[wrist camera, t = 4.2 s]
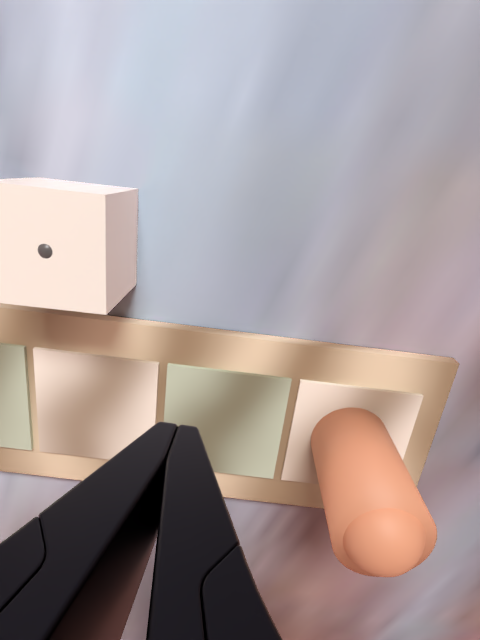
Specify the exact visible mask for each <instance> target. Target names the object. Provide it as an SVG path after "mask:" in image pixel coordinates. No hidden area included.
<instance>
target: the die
mask: <svg viewBox="0 0 480 640" xmlns="http://www.w3.org/2000/svg"><path fill="white" fill-rule="evenodd" d="M137 228H138V189H135V188H126V187H118V186H109V185H100V184H92V183H83V182H74V181H66V180H57V179H48V178H40V177H37V178H14V179H0V303H4V304H13V305H22V306H31V307H40V308H49V309H58V310H67V311H76V312H85V313H94V314H103V315H107V314H108V313H109V312H110V311H111V310H112V309H113V308H114V307H115V306H116V305H117V304H118V303H119V302H120V301H121V300H122V299H123V298H124V296H125V295H126V294H127V293H128V292H129V291H130V290H131V289H132V288H133V287H134V286H135V285H136V282H137Z"/></svg>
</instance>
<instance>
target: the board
mask: <svg viewBox="0 0 480 640" xmlns="http://www.w3.org/2000/svg"><path fill="white" fill-rule="evenodd" d="M458 366H459V363H458V362H457V361H456V360H455V359H454V358H450V357H442V356H433V355H425V354H417V353H409V352H401V351H393V350H385V349H377V348H368V347H360V346H352V345H344V344H336V343H328V342H320V341H312V340H303V339H295V338H287V337H279V336H271V335H263V334H255V333H247V332H238V331H230V330H222V329H214V328H206V327H198V326H190V325H182V324H173V323H165V322H157V321H149V320H141V319H133V318H125V317H117V316H108V315H100V314H92V313H84V312H76V311H67V310H58V309H49V308H40V307H31V306H22V305H13V304H4V303H0V471H5V472H14V473H22V474H31V475H40V476H48V477H57V478H65V479H74V480H82V481H83V480H84V479H85V478H87V477H88V476H89V475H90V474H92V473H93V472H94V471H96V470H97V469H98V468H99V467H101V466H102V465H103V464H105V463H106V462H107V461H109V460H110V459H111V458H112V457H114V456H115V455H116V454H118V453H119V452H120V451H121V450H123V449H124V448H125V447H127V446H128V445H129V444H130V443H132V442H133V441H134V440H136V439H137V438H138V437H140V436H141V435H142V434H143V433H145V432H146V431H147V430H149V429H150V428H151V427H152V426H154V425H155V424H156V423H158V422H168V423H175V424H177V426H179V425H189V426H195V427H197V428H198V429H199V432H200V435H201V437H202V440H203V443H204V446H205V448H206V451H207V454H208V457H209V460H210V462H211V465H212V468H213V471H214V473H215V476H216V479H217V482H218V484H219V487H220V490H221V493H222V495H223V497H228V498H237V499H245V500H254V501H262V502H271V503H279V504H288V505H296V506H305V507H314V508H322V509H324V506H323V501H322V496H321V491H320V486H319V482H318V477H317V472H316V467H315V463H314V458H313V453H312V448H311V435H312V431H313V429H314V427H315V426H316V424H317V423H318V422H319V421H320V420H321V419H322V418H323V417H324V416H326V415H327V414H329V413H331V412H333V411H335V410H338V409H342V408H351V407H353V408H361V409H365V410H368V411H370V412H372V413H374V414H375V415H377V416H378V417H379V418H380V419H381V420H382V422H383V423H384V425H385V427H386V429H387V431H388V433H389V435H390V437H391V439H392V440H393V442H394V444H395V446H396V448H397V450H398V452H399V454H400V456H401V458H402V460H403V462H404V464H405V466H406V468H407V470H408V472H409V474H410V476H411V478H412V480H413V482H414V484H415V486H416V487H417V484H418V481H419V478H420V475H421V473H422V470H423V467H424V464H425V461H426V458H427V455H428V452H429V450H430V447H431V444H432V441H433V438H434V435H435V432H436V430H437V427H438V424H439V421H440V418H441V415H442V412H443V409H444V407H445V404H446V401H447V398H448V395H449V392H450V389H451V387H452V384H453V381H454V378H455V375H456V372H457V369H458Z"/></svg>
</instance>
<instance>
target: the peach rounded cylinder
mask: <svg viewBox="0 0 480 640" xmlns="http://www.w3.org/2000/svg"><path fill="white" fill-rule="evenodd" d="M311 448H312V453H313V458H314V463H315V467H316V472H317V477H318V482H319V486H320V491H321V496H322V501H323V506H324V510H325V515H326V520H327V525H328V530H329V534H330V539H331V544H332V549H333V551H334V554H335V556H336V557H337V559H338V560H339V561H340V562H341V563H342V564H343V565H344V566H346V567H347V568H348V569H350V570H352V571H354V572H357V573H359V574H363V575H368V576H376V577H395V576H399V575H402V574H404V573H406V572H408V571H409V570H411V569H413V568H414V567H416V566H418V565H419V564H421V563H422V562H423V561H424V560H425V559H426V558H427V557H428V556H429V555H430V553H431V552H432V550H433V548H434V546H435V543H436V540H437V529H436V525H435V523H434V521H433V519H432V517H431V515H430V513H429V511H428V509H427V507H426V505H425V503H424V501H423V499H422V497H421V495H420V493H419V491H418V489H417V487H416V486H415V484H414V482H413V480H412V478H411V476H410V474H409V472H408V470H407V468H406V466H405V464H404V462H403V460H402V458H401V456H400V454H399V452H398V450H397V448H396V446H395V444H394V442H393V440H392V439H391V437H390V435H389V433H388V431H387V429H386V427H385V425H384V423H383V422H382V420H381V419H380V418H379V417H378V416H377V415H375V414H374V413H372V412H370V411H368V410H365V409H361V408H353V407H351V408H342V409H338V410H335V411H333V412H331V413H329V414H327V415H326V416H324V417H323V418H322V419H321V420H320V421H319V422H318V423H317V424H316V426H315V427H314V429H313V431H312V435H311Z"/></svg>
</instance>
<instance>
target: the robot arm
mask: <svg viewBox="0 0 480 640" xmlns="http://www.w3.org/2000/svg"><path fill="white" fill-rule="evenodd" d="M156 537H157V544H156V553H155V562H154V572H153V581H152V590H151V599H150V609H149V618H148V627H147V636H146V640H282V638H281V636H280V634H279V632H278V630H277V628H276V626H275V624H274V622H273V620H272V618H271V616H270V614H269V612H268V610H267V608H266V606H265V604H264V602H263V600H262V598H261V595H260V593H259V591H258V589H257V586H256V584H255V581H254V579H253V576H252V574H251V571H250V569H249V566H248V564H247V561H246V558H245V556H244V553H243V550H242V547H241V546H239V545H240V543H239V540H238V537H237V534H236V531H235V529H234V526H233V523H232V520H231V518H230V515H229V512H228V509H227V507H226V504H225V501H224V498H223V495H222V493H221V490H220V487H219V484H218V482H217V479H216V476H215V473H214V471H213V468H212V465H211V462H210V460H209V457H208V454H207V451H206V448H205V446H204V443H203V440H202V437H201V435H200V432H199V429H198V428H197V427H195V426H189V425H179V426H177V424H175V423H168V422H158V423H156V424H155V425H154V426H152V427H151V428H150V429H149V430H147V431H146V432H145V433H143V434H142V435H141V436H140V437H138V438H137V439H136V440H134V441H133V442H132V443H130V444H129V445H128V446H127V447H125V448H124V449H123V450H121V451H120V452H119V453H118V454H116V455H115V456H114V457H112V458H111V459H110V460H109V461H107V462H106V463H105V464H103V465H102V466H101V467H99V468H98V469H97V470H96V471H94V472H93V473H92V474H90V475H89V476H88V477H87V478H85V479H84V480H83V481H81V482H80V483H79V484H78V485H76V486H75V487H74V488H72V489H71V490H70V491H68V492H67V493H66V494H65V495H63V496H62V497H61V498H59V499H58V500H57V501H56V502H54V503H53V504H52V505H50V506H49V507H48V508H47V509H45V510H44V511H43V512H41V513H40V514H39V518H38V517H35V518H33V519H32V520H31V521H29V522H28V523H27V524H26V525H24V526H23V527H22V528H20V529H19V530H18V531H16V532H15V533H14V534H12V535H11V536H10V537H8V538H7V539H6V540H4V541H3V542H2V543H0V640H120V639H121V636H122V633H123V630H124V628H125V625H126V622H127V619H128V616H129V613H130V611H131V608H132V605H133V602H134V599H135V597H136V594H137V591H138V588H139V585H140V583H141V580H142V577H143V574H144V571H145V569H146V566H147V563H148V560H149V557H150V554H151V552H152V549H153V546H154V543H155V540H156Z"/></svg>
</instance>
